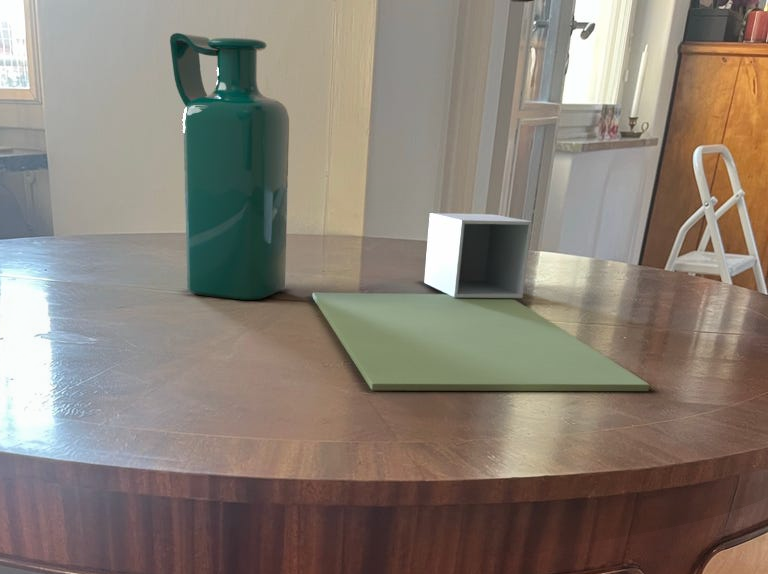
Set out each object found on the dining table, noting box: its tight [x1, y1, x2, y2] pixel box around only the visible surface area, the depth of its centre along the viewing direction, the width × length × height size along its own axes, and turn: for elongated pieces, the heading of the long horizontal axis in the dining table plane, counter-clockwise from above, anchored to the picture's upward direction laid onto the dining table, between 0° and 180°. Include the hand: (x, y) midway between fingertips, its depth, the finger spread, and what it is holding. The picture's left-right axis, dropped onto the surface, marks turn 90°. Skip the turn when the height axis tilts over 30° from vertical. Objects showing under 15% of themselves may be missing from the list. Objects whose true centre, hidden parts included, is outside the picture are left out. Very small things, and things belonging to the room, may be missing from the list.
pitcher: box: [169, 32, 290, 301], centre depth 91 cm, size 10×8×22 cm
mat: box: [312, 292, 651, 392], centre depth 81 cm, size 20×34×1 cm, turn 6°
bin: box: [423, 212, 533, 299], centre depth 98 cm, size 7×7×12 cm
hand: (522, 0), depth 88 cm, fingers closed
